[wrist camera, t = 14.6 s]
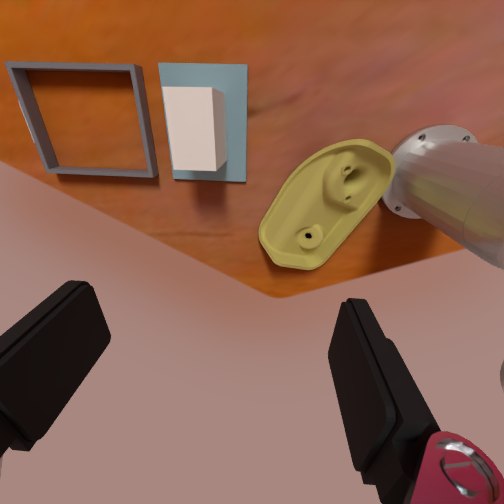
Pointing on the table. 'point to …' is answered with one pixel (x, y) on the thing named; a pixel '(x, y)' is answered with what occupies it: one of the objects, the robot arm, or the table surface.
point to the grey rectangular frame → (38, 127)
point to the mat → (235, 88)
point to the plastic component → (325, 202)
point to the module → (196, 127)
